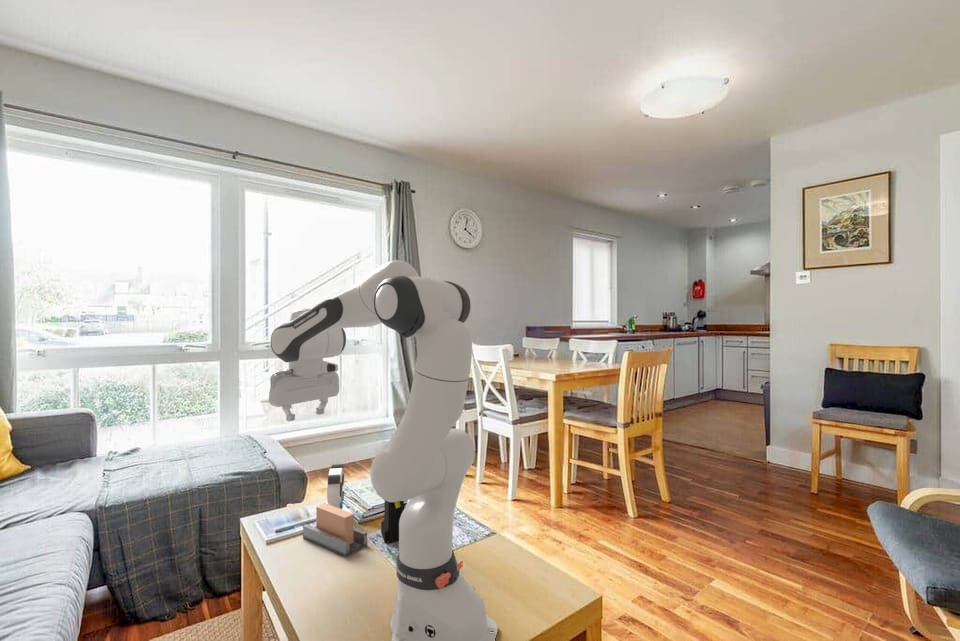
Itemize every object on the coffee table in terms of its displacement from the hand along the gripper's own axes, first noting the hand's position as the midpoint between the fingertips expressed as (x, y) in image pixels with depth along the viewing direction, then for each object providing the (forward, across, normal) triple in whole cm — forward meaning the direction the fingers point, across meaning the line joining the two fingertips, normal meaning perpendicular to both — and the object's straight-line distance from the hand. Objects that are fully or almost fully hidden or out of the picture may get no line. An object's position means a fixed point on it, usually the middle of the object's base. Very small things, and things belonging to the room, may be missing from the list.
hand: (305, 417), depth 123 cm
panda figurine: (+35, +15, +6) cm, 39 cm away
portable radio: (+35, +16, -18) cm, 43 cm away
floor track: (+35, +5, -6) cm, 36 cm away
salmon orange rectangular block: (+34, +5, -6) cm, 35 cm away
